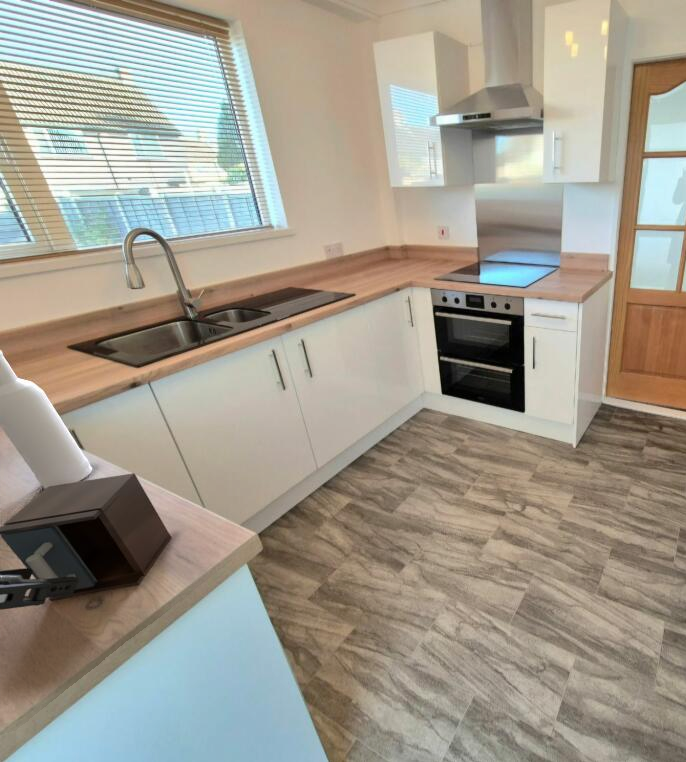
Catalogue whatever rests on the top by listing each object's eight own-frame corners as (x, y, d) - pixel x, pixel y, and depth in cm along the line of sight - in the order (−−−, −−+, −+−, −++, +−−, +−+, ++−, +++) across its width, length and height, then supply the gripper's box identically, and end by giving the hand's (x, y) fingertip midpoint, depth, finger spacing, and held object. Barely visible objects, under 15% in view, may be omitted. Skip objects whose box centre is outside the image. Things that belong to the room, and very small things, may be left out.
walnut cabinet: (50, 601, 63) (-7, 532, 57) (94, 551, 72) (48, 486, 66) (139, 584, 65) (93, 515, 59) (171, 537, 74) (134, 472, 67)
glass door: (30, 615, 60) (-23, 554, 55) (50, 592, 64) (2, 533, 58) (78, 606, 61) (30, 545, 56) (95, 584, 65) (52, 525, 59)
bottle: (53, 494, 86) (-43, 359, 73) (36, 485, 90) (-59, 353, 76) (100, 471, 93) (20, 342, 79) (82, 463, 96) (2, 338, 83)
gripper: (-72, 569, 43) (101, 558, 58) (-161, 552, 46) (25, 545, 62) (-112, 653, 41) (79, 619, 56) (-203, 629, 44) (1, 603, 59)
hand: (51, 580), depth 59 cm, fingers open, 8 cm apart
